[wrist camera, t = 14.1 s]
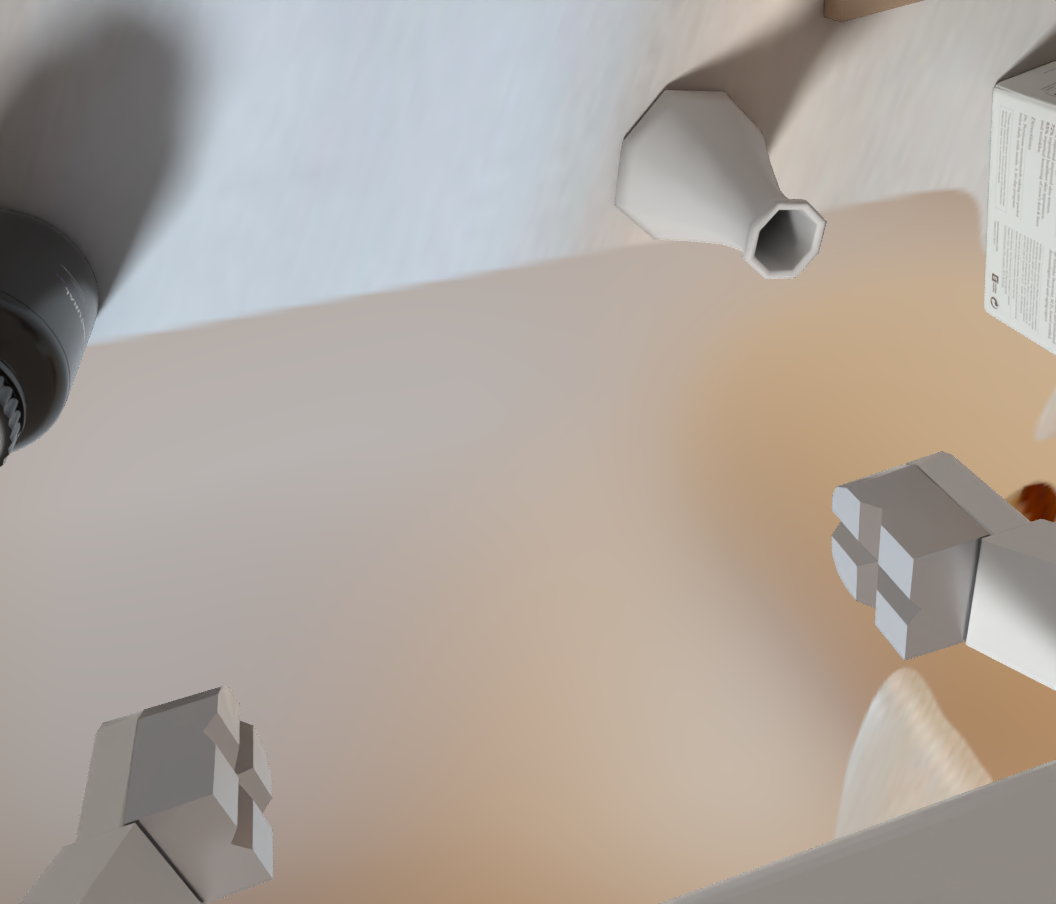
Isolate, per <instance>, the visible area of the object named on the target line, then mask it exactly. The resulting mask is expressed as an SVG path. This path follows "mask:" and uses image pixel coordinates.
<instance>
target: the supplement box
mask: <svg viewBox="0 0 1056 904" xmlns="http://www.w3.org/2000/svg"><path fill="white" fill-rule="evenodd" d="M984 301H985V302H984V308H985V311H986V312H988V313H989V314H990V315H992V316H994V317H995V318H997V319H999V320H1000V321H1002V322H1003V323H1005V324H1007V325H1008V326H1010V327H1011V328H1013V329H1014V330H1016V331H1018V332H1019V333H1021V334H1022V335H1024V336H1026V337H1027V338H1029V339H1030V340H1032V341H1034V342H1035V343H1037V344H1039V345H1040V346H1042V347H1043V348H1045V349H1047V350H1048V351H1050V352H1051V353H1053V354H1054V355H1056V61H1054V62H1051V63H1049V64H1046V65H1043V66H1041V67H1038V68H1035V69H1033V70H1030V71H1027V72H1025V73H1022V74H1020V75H1017V76H1014V77H1012V78H1009V79H1007V80H1004V81H1001V82H999V83H998V84H996V86H995V88H994V90H993V105H992V131H991V157H990V178H989V202H988V225H987V251H986V275H985V299H984Z"/></svg>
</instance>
